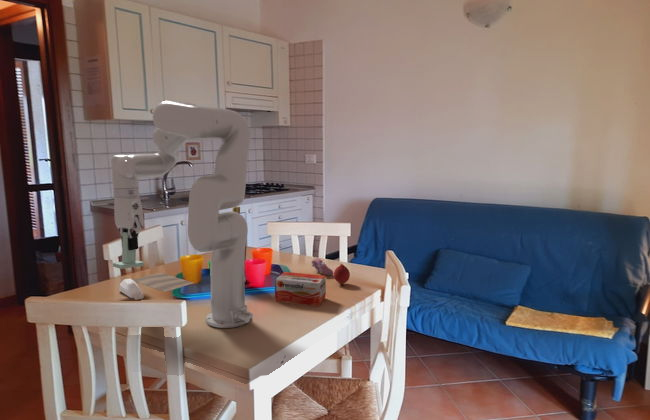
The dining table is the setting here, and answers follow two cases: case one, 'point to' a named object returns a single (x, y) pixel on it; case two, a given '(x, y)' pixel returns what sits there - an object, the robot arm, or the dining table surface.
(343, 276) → the onion
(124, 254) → the mint t-shaped block
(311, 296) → the medicine box
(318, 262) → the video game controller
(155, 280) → the board
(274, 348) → the dining table surface
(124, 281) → the pepper shaker
